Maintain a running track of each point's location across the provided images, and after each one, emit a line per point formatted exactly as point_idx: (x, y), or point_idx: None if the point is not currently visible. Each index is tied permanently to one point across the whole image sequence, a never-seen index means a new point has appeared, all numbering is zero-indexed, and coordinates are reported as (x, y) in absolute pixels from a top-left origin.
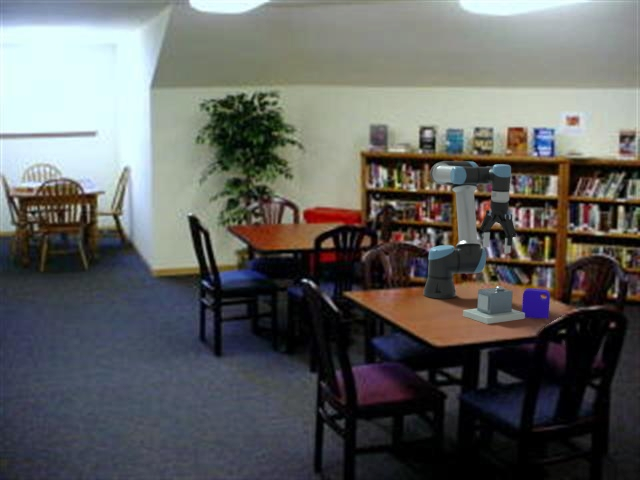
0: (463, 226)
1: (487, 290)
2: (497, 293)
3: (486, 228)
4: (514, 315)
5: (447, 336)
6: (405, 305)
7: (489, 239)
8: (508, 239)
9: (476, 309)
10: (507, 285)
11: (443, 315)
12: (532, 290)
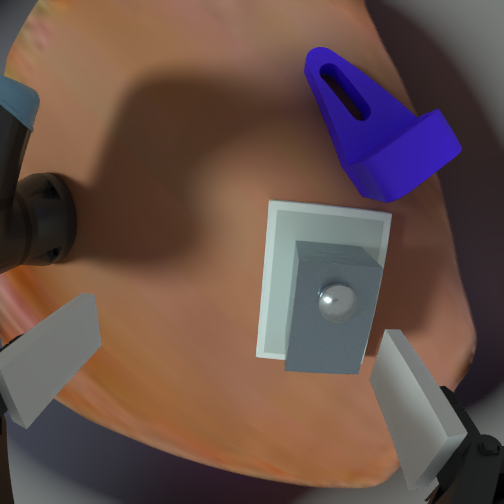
0: None
1: (315, 352)
2: (364, 346)
3: (7, 467)
4: (383, 260)
5: (361, 462)
6: (106, 372)
7: (52, 328)
8: (445, 462)
9: (273, 322)
10: None
11: (226, 380)
12: (420, 178)
